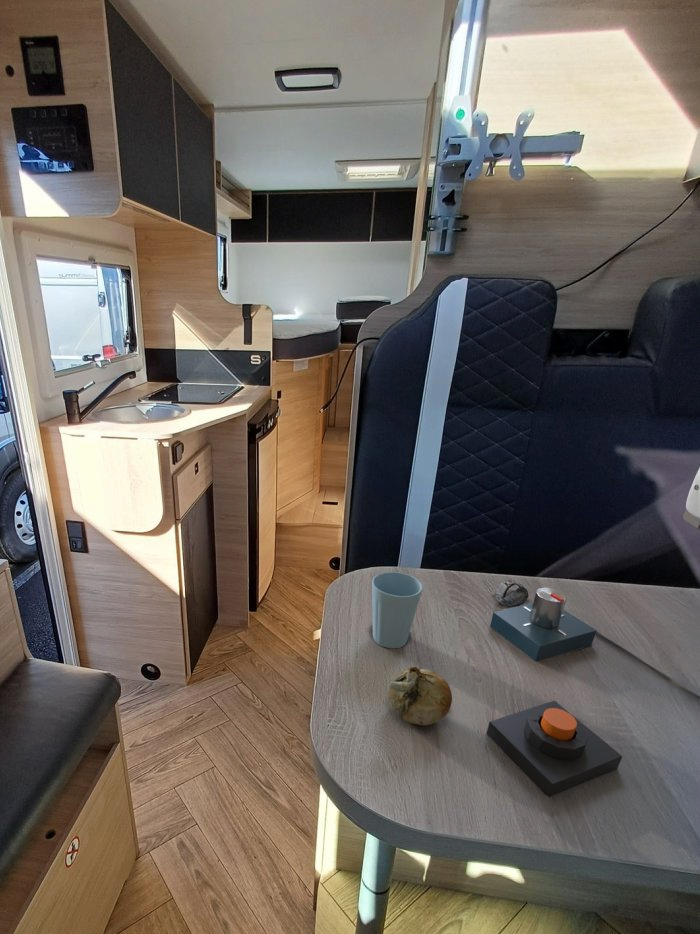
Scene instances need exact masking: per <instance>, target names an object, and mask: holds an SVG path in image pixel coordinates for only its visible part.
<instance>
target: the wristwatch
mask: <svg viewBox="0 0 700 934" xmlns="http://www.w3.org/2000/svg"><path fill="white" fill-rule="evenodd" d="M515 585H516V586H517V588H516V589H515V590H512V591H511V593H510V594H509V596H508V597H506V595H507V593H508V591H509V590H510V588H512V587H513V586H515ZM529 596H530V595H529V591H528V589H527V587H525V586H524V585H523V584H521V583H520V582H517V581H516V580H515V579H513V578H506V579H505V580H504V581H503V582H502V581H501V583H500V584H499V586H498V587H497V590H496V595H495V600H496V601H498V602H499V603H500V604H501V605H502V606H508V607H516V606H521V605H523V604H524V603H525V602H526V601H527V600H528V598H529Z"/></svg>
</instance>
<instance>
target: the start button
mask: <svg viewBox="0 0 700 934" xmlns="http://www.w3.org/2000/svg"><path fill="white" fill-rule="evenodd" d="M568 712H569V711H568ZM568 712H566V711H564V710H561V709H557V708H549V709H547V710H546V711H545V712H544V714H543V718H542V721H541V728H542V730H543V731H544V732H545V733H546V734H547V735H548V736H551V737H553V738H555V739H557V740H563V741H567V740H570V739H572V738H573V735H574V733H575V730H576V727H577V722H576V720H575V718H576V717H575V716H574V715H573V714H572V715H573V716H574V717H575V718H574V717H573V716H572V715H571V713H570V712H569V713H570V714H569V713H568Z"/></svg>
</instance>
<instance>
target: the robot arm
mask: <svg viewBox="0 0 700 934" xmlns="http://www.w3.org/2000/svg"><path fill="white" fill-rule="evenodd" d="M685 509H686V510H685V511H684V513H683V514H682V520H683V521H684V522H685V523H687V524H688V525H690V526H692V527H693V528H695V529H697V530H699V531H700V467H699V468H698V470H697V472H696V474H695V477H694V479H693V482H692V484H691V487H690V488H689V492H688V495H687V498H686V502H685Z"/></svg>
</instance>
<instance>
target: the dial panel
mask: <svg viewBox="0 0 700 934" xmlns="http://www.w3.org/2000/svg"><path fill="white" fill-rule="evenodd" d="M532 606H533V602H529V603H525V604H521V605H516V606H511V607H508V608H505V609H501V610H497V611H493V612H492V616H491V621H490V624H489V627H490V628H491V629H492V630H494V632H496V633H498V635H500V636H501V637H503V638H504V639H505V640H507V641H508V642H509V643H511V644H512V645H514V646H515V647H516V648H517V649H519V650H520V651H521V652H523V653H524V654H525V655H526V656H528V657H529V658H530V659H531V660H533V661H534V662H538V661H541V660H545V659H548V658H552V657H555V656H558V655H564V654H566V653H570V652H573V651H577V650H580V649H584V648H588V647H591V646H592V645H593V642H594V640H595V637H596V634H597V632H598V631H597V629H595V628H594V627H592V626H590V625H589V624H587V623H586V622H585V621H583V620H581V619H580V618H578V617H577V616H575V615H573V614H572V613H570V612H569V611H567V610H565V608H564V609H563V613H562V616H561V619H560V622H559V625H558V626H557V627H556V628H544V627H540V626H538V625H536V624H534V623H533V622H532V621H531V620H530V618H529V617H530V613H531V609H532Z"/></svg>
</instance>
